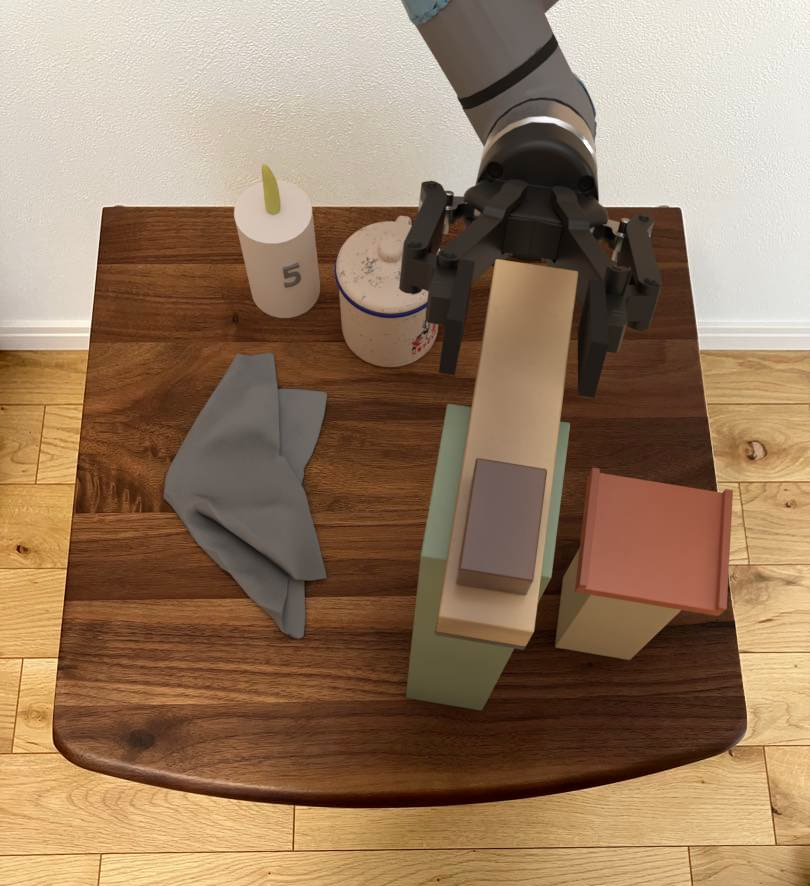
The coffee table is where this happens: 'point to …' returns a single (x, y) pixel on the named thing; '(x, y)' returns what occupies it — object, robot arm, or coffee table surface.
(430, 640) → the mint green pillar
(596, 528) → the red-capped tan pillar
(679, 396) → the coffee table surface
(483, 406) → the tan wooden block
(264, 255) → the candle
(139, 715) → the coffee table surface
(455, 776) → the coffee table surface
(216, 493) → the cloth
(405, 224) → the teacup with lid
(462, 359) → the coffee table surface
